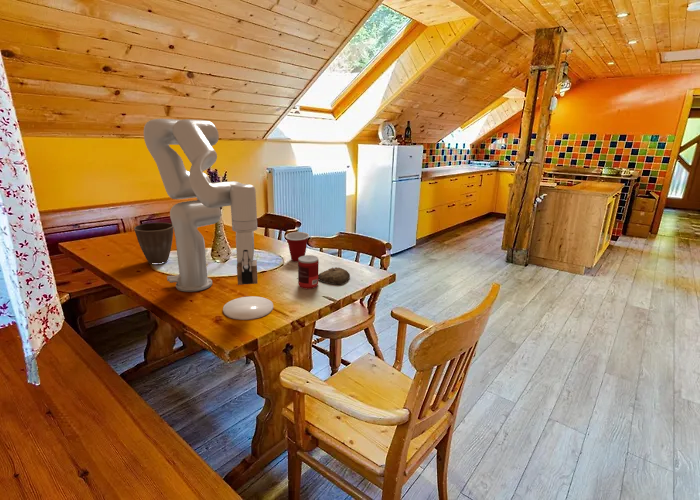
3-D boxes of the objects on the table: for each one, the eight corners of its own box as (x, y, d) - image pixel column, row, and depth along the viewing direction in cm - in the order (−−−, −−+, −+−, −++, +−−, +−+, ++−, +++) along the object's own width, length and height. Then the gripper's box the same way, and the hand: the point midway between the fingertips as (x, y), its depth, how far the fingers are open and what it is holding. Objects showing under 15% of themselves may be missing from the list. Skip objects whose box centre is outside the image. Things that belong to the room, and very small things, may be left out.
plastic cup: (280, 261, 173) (280, 235, 169) (293, 255, 182) (293, 230, 179) (301, 265, 169) (301, 239, 165) (313, 258, 178) (313, 233, 175)
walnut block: (237, 284, 120) (236, 266, 118) (238, 278, 125) (237, 260, 123) (257, 283, 121) (256, 265, 119) (257, 277, 126) (256, 259, 125)
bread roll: (339, 287, 147) (339, 275, 145) (313, 280, 153) (313, 268, 151) (355, 277, 157) (356, 266, 156) (331, 271, 163) (331, 260, 162)
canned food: (318, 281, 151) (319, 255, 148) (317, 289, 143) (318, 261, 140) (299, 281, 151) (299, 254, 147) (297, 289, 143) (297, 261, 140)
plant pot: (177, 265, 163) (173, 229, 158) (138, 269, 157) (132, 231, 152) (176, 255, 176) (172, 221, 171) (139, 258, 170) (135, 223, 165)
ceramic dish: (221, 321, 117) (221, 319, 117) (225, 300, 132) (224, 297, 131) (274, 317, 120) (274, 315, 120) (272, 297, 135) (272, 295, 135)
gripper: (233, 219, 125) (236, 271, 130) (230, 231, 109) (234, 290, 114) (257, 218, 127) (259, 269, 132) (257, 231, 111) (260, 288, 116)
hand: (247, 278), depth 123 cm, fingers closed on walnut block, 6 cm apart
